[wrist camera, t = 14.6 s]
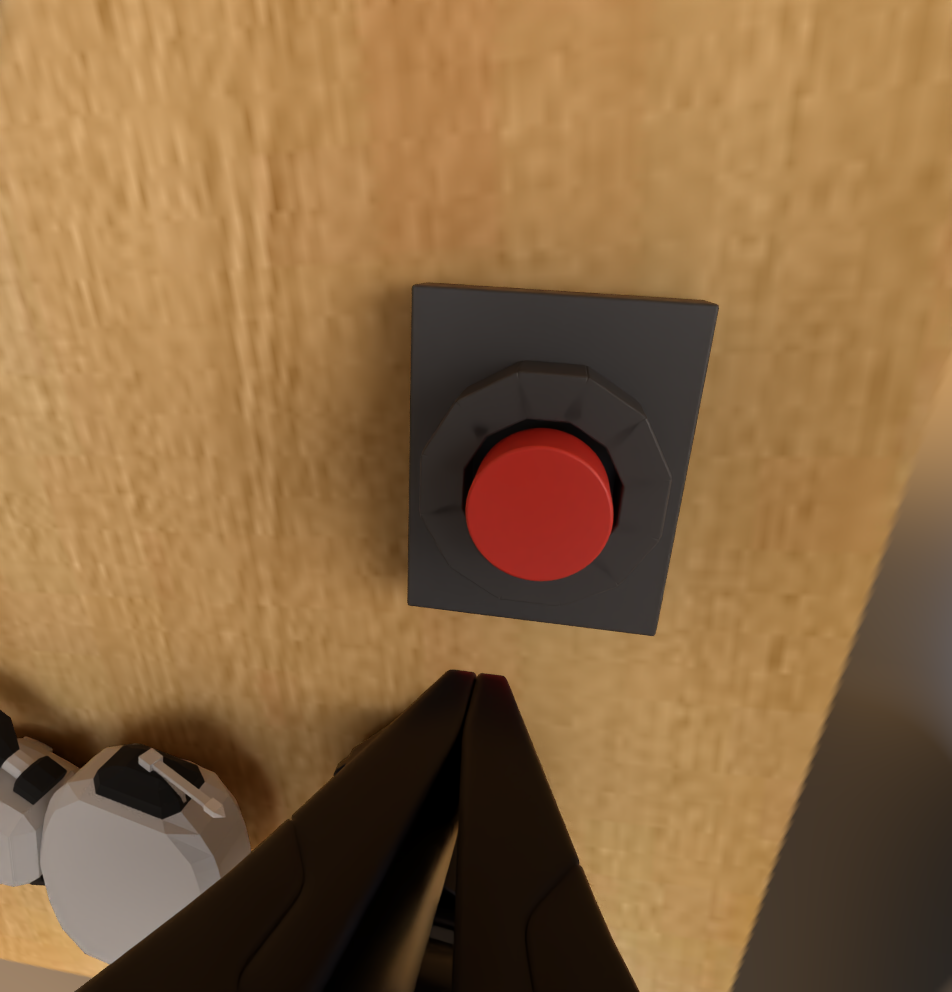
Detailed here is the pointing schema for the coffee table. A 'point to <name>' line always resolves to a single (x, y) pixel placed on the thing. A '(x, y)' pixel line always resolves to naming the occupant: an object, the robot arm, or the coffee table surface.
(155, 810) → the robot toy
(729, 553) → the coffee table surface
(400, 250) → the coffee table surface
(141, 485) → the coffee table surface
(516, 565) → the button
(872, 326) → the coffee table surface
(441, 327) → the button block
